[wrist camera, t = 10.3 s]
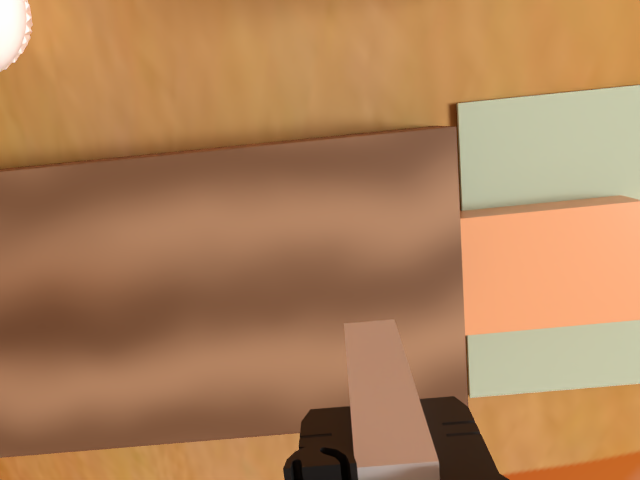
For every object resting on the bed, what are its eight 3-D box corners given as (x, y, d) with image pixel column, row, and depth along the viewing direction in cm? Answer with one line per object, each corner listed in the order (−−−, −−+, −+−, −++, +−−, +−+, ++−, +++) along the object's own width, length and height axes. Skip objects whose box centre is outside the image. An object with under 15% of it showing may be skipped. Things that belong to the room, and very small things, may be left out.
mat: (456, 103, 27) (458, 103, 27) (742, 74, 26) (747, 74, 26) (468, 395, 30) (470, 397, 30) (722, 374, 30) (725, 376, 30)
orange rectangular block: (445, 212, 28) (454, 219, 26) (621, 195, 28) (644, 200, 26) (450, 321, 29) (459, 336, 27) (619, 306, 29) (640, 319, 27)
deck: (-28, 171, 28) (-85, 180, 24) (437, 125, 27) (456, 126, 23) (30, 415, 31) (-13, 458, 27) (450, 380, 30) (468, 419, 26)
